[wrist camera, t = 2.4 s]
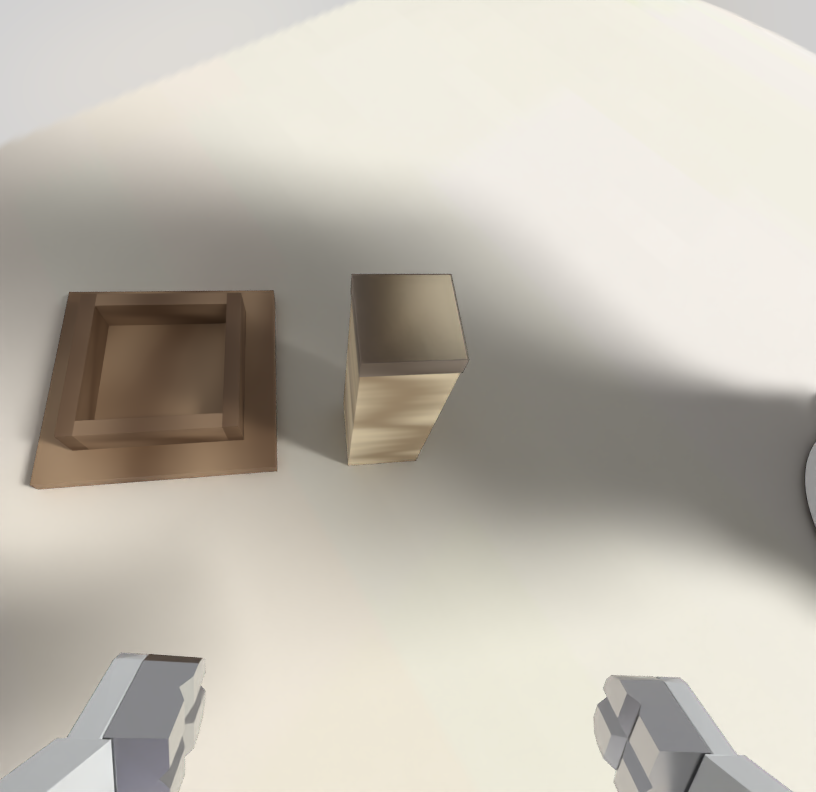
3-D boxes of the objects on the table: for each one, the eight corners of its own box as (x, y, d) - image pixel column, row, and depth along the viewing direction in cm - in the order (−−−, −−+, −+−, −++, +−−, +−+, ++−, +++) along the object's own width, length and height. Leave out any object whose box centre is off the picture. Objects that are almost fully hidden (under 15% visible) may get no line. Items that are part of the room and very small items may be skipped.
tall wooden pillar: (408, 399, 31) (451, 273, 20) (416, 461, 29) (469, 360, 18) (342, 402, 30) (351, 273, 19) (347, 466, 28) (360, 364, 18)
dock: (274, 298, 33) (270, 270, 30) (277, 471, 28) (272, 454, 25) (75, 300, 30) (52, 270, 28) (38, 489, 25) (6, 473, 23)
